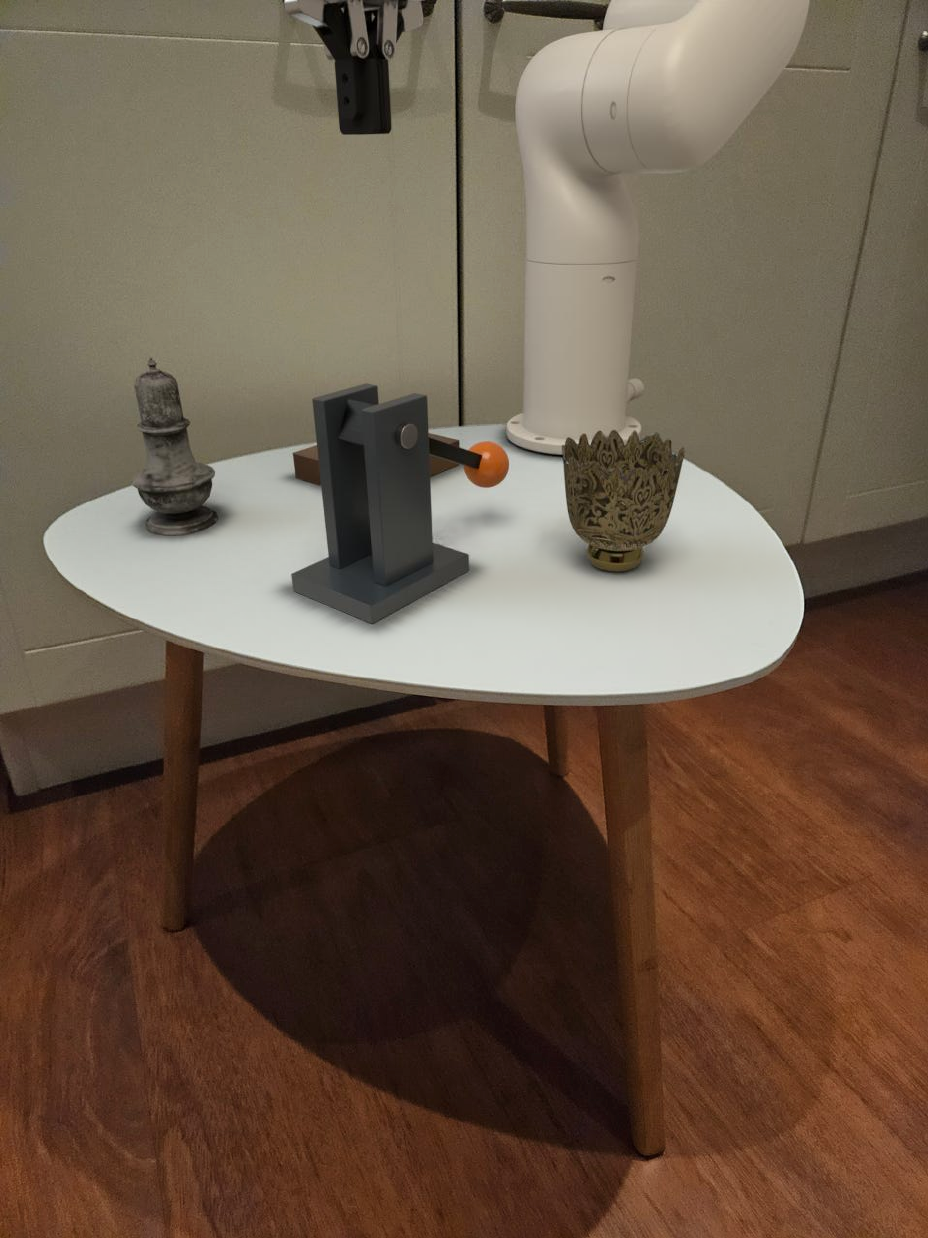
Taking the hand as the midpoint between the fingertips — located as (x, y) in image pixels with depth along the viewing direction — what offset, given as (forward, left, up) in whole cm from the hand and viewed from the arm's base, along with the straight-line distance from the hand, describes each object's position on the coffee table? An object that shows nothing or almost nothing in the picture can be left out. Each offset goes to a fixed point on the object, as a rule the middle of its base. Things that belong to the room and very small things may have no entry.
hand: (365, 133), depth 55 cm
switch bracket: (+11, +10, -25) cm, 29 cm away
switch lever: (+6, +10, -19) cm, 22 cm away
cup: (0, +21, -25) cm, 33 cm away
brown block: (-4, -5, -25) cm, 26 cm away
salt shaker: (+13, -9, -25) cm, 30 cm away
